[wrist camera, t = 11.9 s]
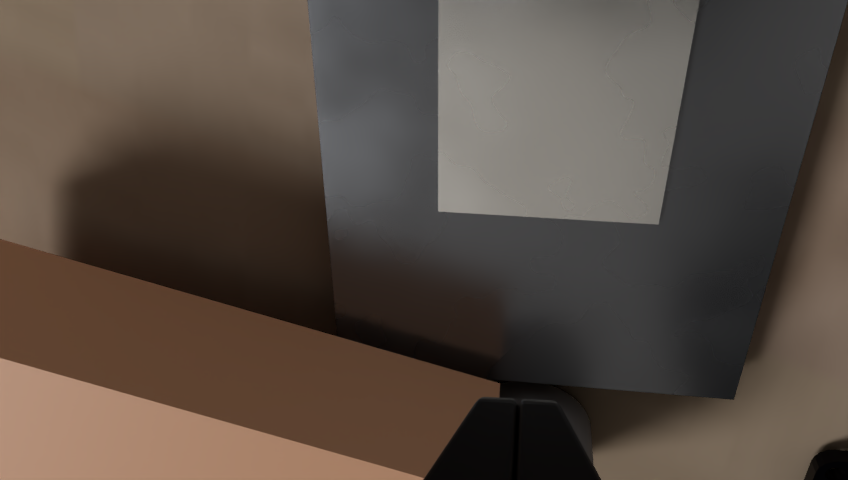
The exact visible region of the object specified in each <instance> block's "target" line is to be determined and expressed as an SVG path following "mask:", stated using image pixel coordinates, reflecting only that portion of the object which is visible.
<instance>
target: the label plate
mask: <svg viewBox="0 0 848 480" xmlns="http://www.w3.org/2000/svg"><path fill="white" fill-rule="evenodd" d="M847 2H848V0H308V10H309V22H310V33H311V44H312V56H313V67H314V78H315V90H316V101H317V112H318V124H319V135H320V146H321V158H322V169H323V180H324V192H325V203H326V214H327V226H328V237H329V248H330V259H331V271H332V282H333V293H334V305H335V316H336V327H337V337H341V338H344V339H348V340H351V341H355V342H358V343H362V344H365V345H369V346H372V347H376V348H379V349H382V350H386V351H389V352H393V353H396V354H400V355H403V356H407V357H410V358H414V359H417V360H421V361H424V362H428V363H431V364H434V365H438V366H441V367H445V368H448V369H452V370H455V371H459V372H462V373H466V374H469V375H473V376H476V377H479V378H483V379H492V380H504V381H516V382H528V383H540V384H552V385H564V386H576V387H588V388H601V389H613V390H625V391H637V392H649V393H661V394H673V395H685V396H697V397H709V398H721V399H733V400H734V397H735V394H736V390H737V387H738V383H739V380H740V376H741V373H742V369H743V366H744V362H745V359H746V355H747V352H748V348H749V345H750V341H751V338H752V334H753V331H754V327H755V324H756V320H757V317H758V313H759V310H760V306H761V303H762V299H763V296H764V292H765V289H766V285H767V282H768V278H769V275H770V271H771V268H772V264H773V261H774V257H775V254H776V250H777V247H778V243H779V240H780V236H781V233H782V229H783V226H784V222H785V219H786V215H787V212H788V208H789V205H790V201H791V198H792V194H793V191H794V187H795V184H796V180H797V177H798V173H799V170H800V166H801V163H802V159H803V156H804V152H805V149H806V145H807V142H808V138H809V135H810V131H811V128H812V124H813V121H814V117H815V114H816V110H817V107H818V103H819V100H820V96H821V93H822V89H823V86H824V82H825V79H826V75H827V72H828V68H829V65H830V61H831V58H832V54H833V51H834V48H835V44H836V41H837V37H838V34H839V30H840V27H841V23H842V20H843V16H844V13H845V9H846V6H847Z"/></svg>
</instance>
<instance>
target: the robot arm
mask: <svg viewBox="0 0 848 480" xmlns="http://www.w3.org/2000/svg"><path fill="white" fill-rule="evenodd" d="M832 468H834V469H832ZM423 480H601V478H600V477H599V475H598V473H597V471H596V469H595V467H594V466H593V464H592V462H591V460H590V458H589V456H588V455H587V453H586V451H585V449H584V447H583V445H582V444H581V442H580V440H579V438H578V436H577V434H576V433H575V431H574V429H573V427H572V425H571V423H570V422H569V420H568V418H567V416H566V414H565V412H564V411H563V409H562V407H561V406H560V404H559V403H558V402H556V401H553V400H537V399H523V400H521V401H520V403H519V406H518V403H517V402H516V400H514V399H512V398H498V397H481V398H479V399H478V400H477V401H476V402H475V404H474V405H473V407H472V408H471V410H470V411H469V413H468V414H467V416H466V417H465V418H464V420H463V421H462V423H461V424H460V426H459V427H458V429H457V430H456V432H455V433H454V435H453V436H452V438H451V439H450V441H449V442H448V444H447V445H446V447H445V448H444V450H443V451H442V453H441V454H440V456H439V457H438V459H437V460H436V461H435V463H434V464H433V466H432V467H431V469H430V470H429V472H428V473H427V475H426V476H425V478H424V479H423ZM804 480H848V451H842V450H827V451H824V452H820V453H819V454H817V455H816V456H814V458H813V459H812V461H811V463H810V466H809V468H808V471H807V473H806V476H805V479H804Z"/></svg>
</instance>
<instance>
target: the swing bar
mask: <svg viewBox="0 0 848 480" xmlns="http://www.w3.org/2000/svg"><path fill="white" fill-rule="evenodd" d="M481 397H498V398H512V399H514V400H516V402H517V403H518V406H519V403H520V401H521V400H523V399H537V400H553V401H556V402H558V403H559V404H560V406H561V407H562V409H563V411H564V412H565V414H566V416H567V418H568V420H569V422H570V423H571V425H572V427H573V429H574V431H575V433H576V434H577V436H578V438H579V440H580V442H581V444H582V445H583V447H584V449H585V451H586V453H587V455H588V456H589V458H590V460H591V462H592V464H593V452H592V437H591V425H590V421H589V417H588V415H587V413H586V411H585V410H584V408H583V407H582V406H581V404H580V403H579V402H578V401H577V400H575V399H574V398H573V397H572V396H570V395H569V394H567V393H566V392H564V391H562V390H560V389H558V388H556V387H553V386H550V385H547V384H540V383H528V382H508V383H503V384H500V383H497V382H493V381H490V380H486V379H483V378H479V377H476V376H473V375H469V374H466V373H462V372H459V371H455V370H452V369H448V368H445V367H441V366H438V365H434V364H431V363H428V362H424V361H421V360H417V359H414V358H410V357H407V356H403V355H400V354H396V353H393V352H389V351H386V350H382V349H379V348H376V347H372V346H369V345H365V344H362V343H358V342H355V341H351V340H348V339H344V338H341V337H337V336H334V335H331V334H327V333H324V332H320V331H317V330H313V329H310V328H306V327H303V326H299V325H296V324H292V323H289V322H285V321H282V320H279V319H275V318H272V317H268V316H265V315H261V314H258V313H254V312H251V311H247V310H244V309H240V308H237V307H234V306H230V305H227V304H223V303H220V302H216V301H213V300H209V299H206V298H202V297H199V296H195V295H192V294H189V293H185V292H182V291H178V290H175V289H171V288H168V287H164V286H161V285H157V284H154V283H150V282H147V281H143V280H140V279H137V278H133V277H130V276H126V275H123V274H119V273H116V272H112V271H109V270H105V269H102V268H98V267H95V266H92V265H88V264H85V263H81V262H78V261H74V260H71V259H67V258H64V257H60V256H57V255H53V254H50V253H46V252H43V251H40V250H36V249H33V248H29V247H26V246H22V245H19V244H15V243H12V242H8V241H5V240H1V239H0V480H423V479H424V478H425V476H426V475H427V473H428V472H429V470H430V469H431V467H432V466H433V464H434V463H435V461H436V460H437V459H438V457H439V456H440V454H441V453H442V451H443V450H444V448H445V447H446V445H447V444H448V442H449V441H450V439H451V438H452V436H453V435H454V433H455V432H456V430H457V429H458V427H459V426H460V424H461V423H462V421H463V420H464V418H465V417H466V416H467V414H468V413H469V411H470V410H471V408H472V407H473V405H474V404H475V402H476V401H477V400H478V399H479V398H481Z"/></svg>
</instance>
